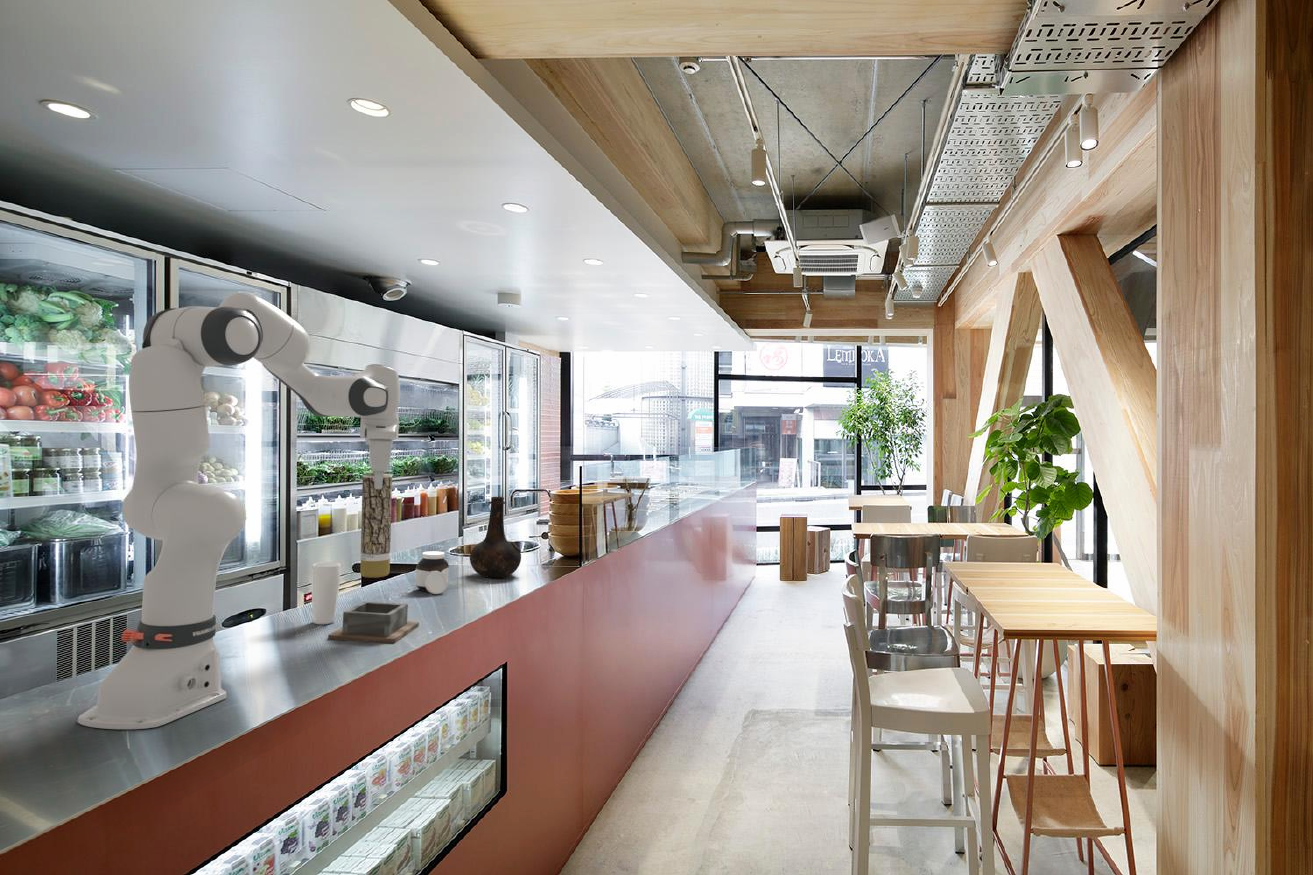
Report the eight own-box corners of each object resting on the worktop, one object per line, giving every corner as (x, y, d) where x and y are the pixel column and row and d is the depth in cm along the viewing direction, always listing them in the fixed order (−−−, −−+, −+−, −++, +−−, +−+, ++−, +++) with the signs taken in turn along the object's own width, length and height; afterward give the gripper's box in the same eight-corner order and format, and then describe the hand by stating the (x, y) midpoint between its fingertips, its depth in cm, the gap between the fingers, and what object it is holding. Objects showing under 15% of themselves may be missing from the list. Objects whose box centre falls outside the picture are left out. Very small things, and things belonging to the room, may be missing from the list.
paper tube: (379, 579, 176) (382, 476, 176) (354, 577, 177) (356, 474, 177) (394, 573, 183) (397, 474, 182) (370, 571, 184) (372, 473, 184)
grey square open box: (394, 643, 172) (396, 617, 172) (328, 639, 173) (329, 613, 173) (418, 625, 188) (420, 602, 188) (357, 622, 189) (358, 599, 189)
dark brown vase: (515, 581, 249) (519, 500, 249) (463, 579, 249) (467, 497, 249) (524, 572, 267) (527, 496, 267) (475, 570, 267) (479, 493, 267)
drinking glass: (343, 621, 189) (346, 563, 189) (322, 627, 182) (325, 567, 182) (325, 617, 191) (328, 560, 191) (302, 623, 185) (306, 564, 185)
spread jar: (433, 585, 237) (435, 549, 237) (460, 590, 232) (462, 553, 232) (406, 591, 227) (408, 554, 227) (433, 596, 222) (435, 558, 222)
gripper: (364, 429, 188) (362, 483, 188) (367, 431, 169) (364, 491, 169) (390, 430, 190) (388, 483, 191) (395, 432, 172) (393, 491, 172)
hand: (377, 487), depth 180 cm, fingers closed on paper tube, 7 cm apart
